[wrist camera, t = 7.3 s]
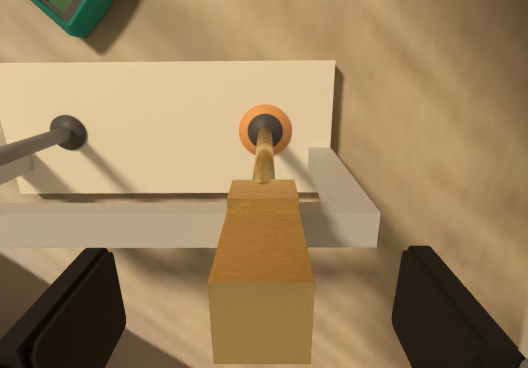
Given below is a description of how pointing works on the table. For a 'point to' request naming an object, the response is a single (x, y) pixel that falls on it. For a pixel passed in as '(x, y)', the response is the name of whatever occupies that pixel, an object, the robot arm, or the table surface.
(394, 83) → the table surface
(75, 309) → the robot arm
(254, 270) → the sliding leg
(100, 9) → the digital multimeter
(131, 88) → the white rack frame
